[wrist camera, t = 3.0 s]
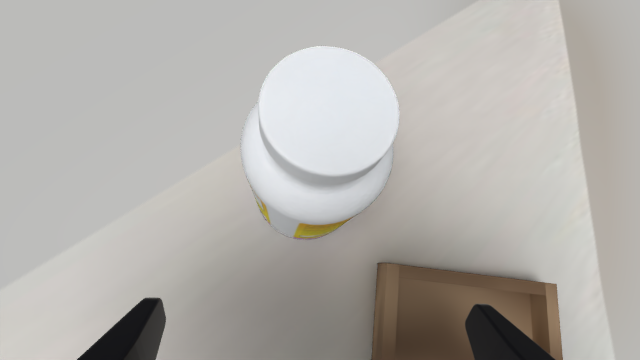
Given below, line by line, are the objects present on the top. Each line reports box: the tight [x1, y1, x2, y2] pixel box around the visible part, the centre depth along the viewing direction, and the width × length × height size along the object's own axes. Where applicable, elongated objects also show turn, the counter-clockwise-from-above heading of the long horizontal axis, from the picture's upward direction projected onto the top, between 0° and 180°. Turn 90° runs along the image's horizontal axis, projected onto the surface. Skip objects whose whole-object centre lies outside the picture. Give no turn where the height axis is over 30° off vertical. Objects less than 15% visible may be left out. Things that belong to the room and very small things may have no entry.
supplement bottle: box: [241, 46, 399, 240], centre depth 16 cm, size 7×7×13 cm
